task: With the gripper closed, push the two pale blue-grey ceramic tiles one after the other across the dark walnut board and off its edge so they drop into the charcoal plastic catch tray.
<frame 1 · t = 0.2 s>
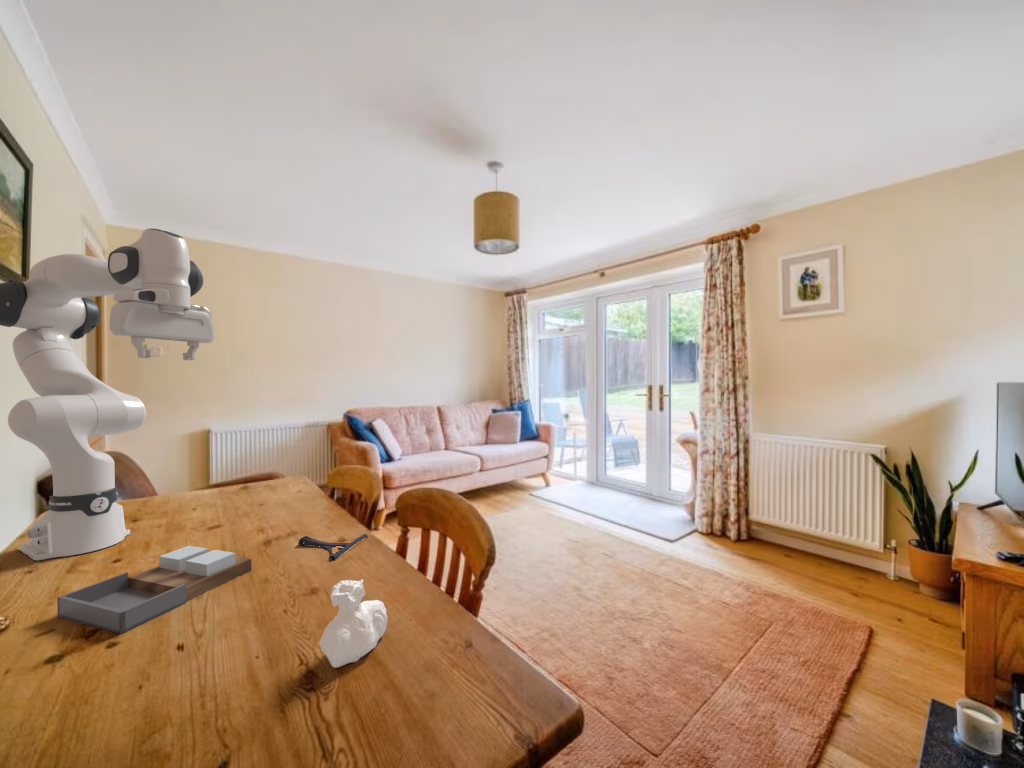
hand: (167, 359, 97), 47 cm above the table, fingers open, 8 cm apart
bracket: (326, 549, 105), on the table
bust: (352, 650, 64), on the table
catch tray: (123, 609, 76), on the table
tile b: (211, 568, 87), point 2 cm above the table, touching board
tile a: (184, 563, 90), point 2 cm above the table, touching board
board: (192, 579, 87), on the table
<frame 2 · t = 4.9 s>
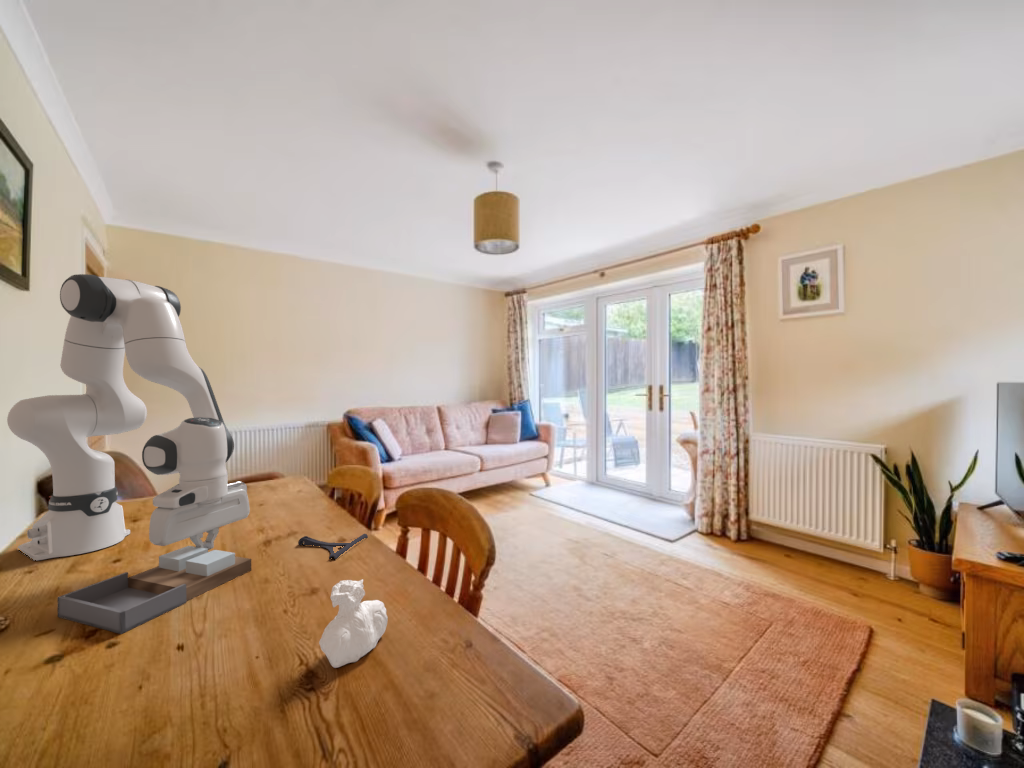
hand: (204, 550, 94), 4 cm above the table, fingers closed
tile a: (184, 563, 89), point 3 cm above the table, touching gripper
everything else where it was.
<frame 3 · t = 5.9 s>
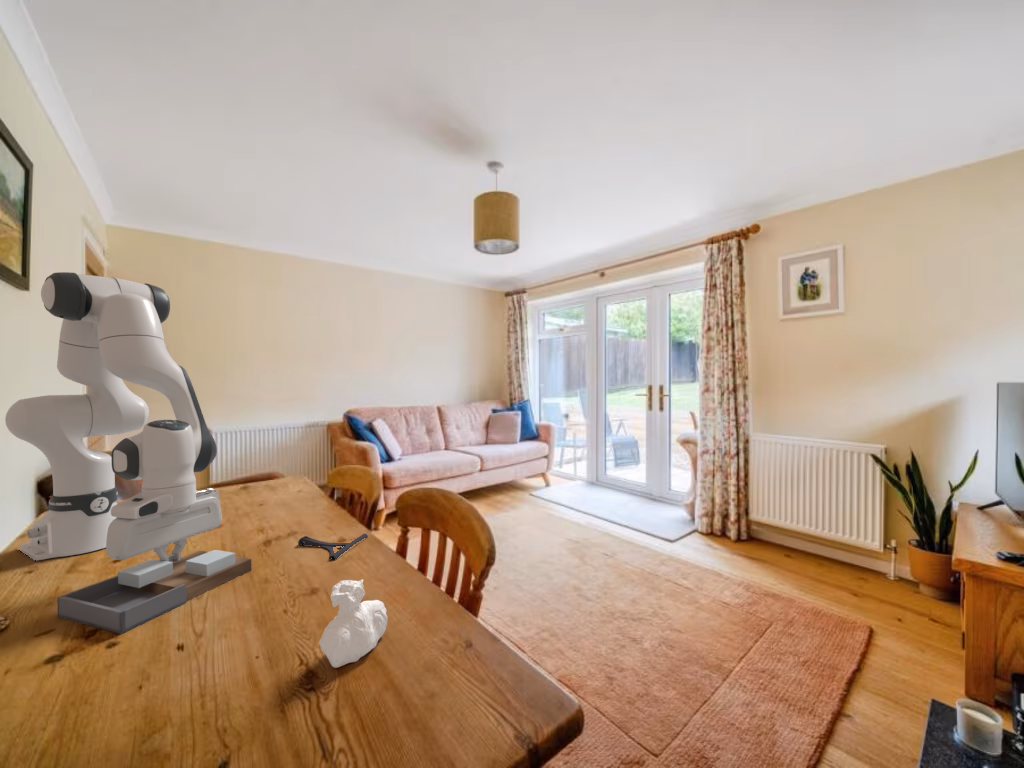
hand: (170, 563, 87), 4 cm above the table, fingers closed
tile a: (146, 578, 83), point 3 cm above the table, touching board, gripper
everything else where it was.
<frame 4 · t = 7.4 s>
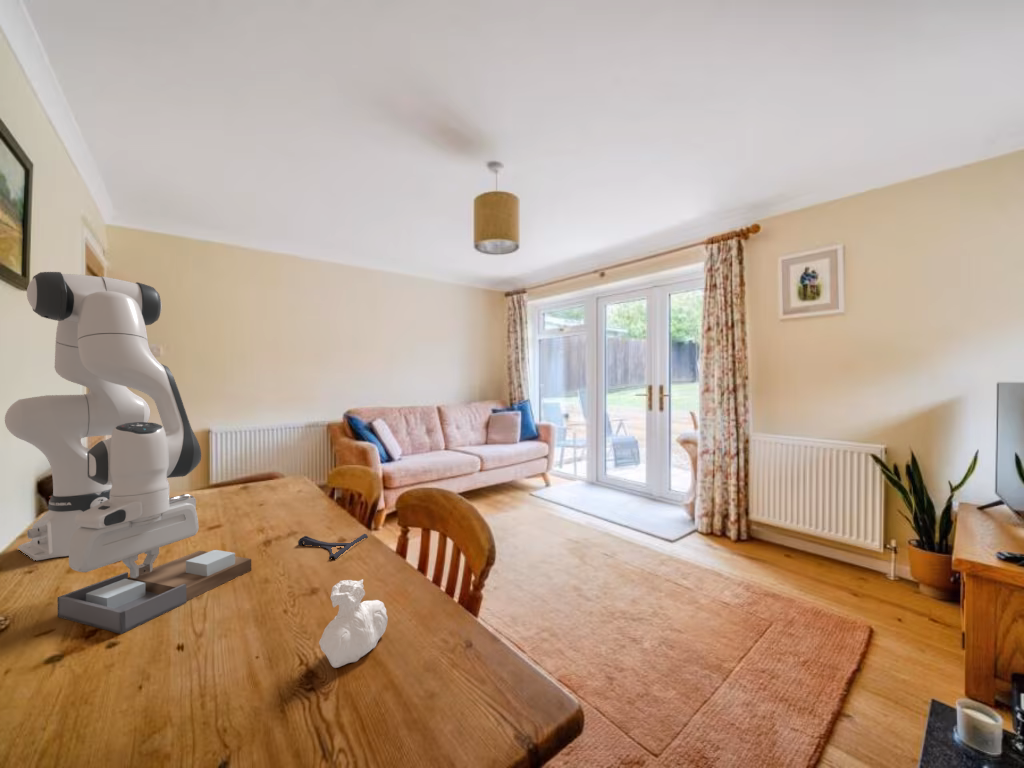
hand: (141, 574, 82), 4 cm above the table, fingers closed
tile a: (116, 600, 78), resting on catch tray
everything else where it was.
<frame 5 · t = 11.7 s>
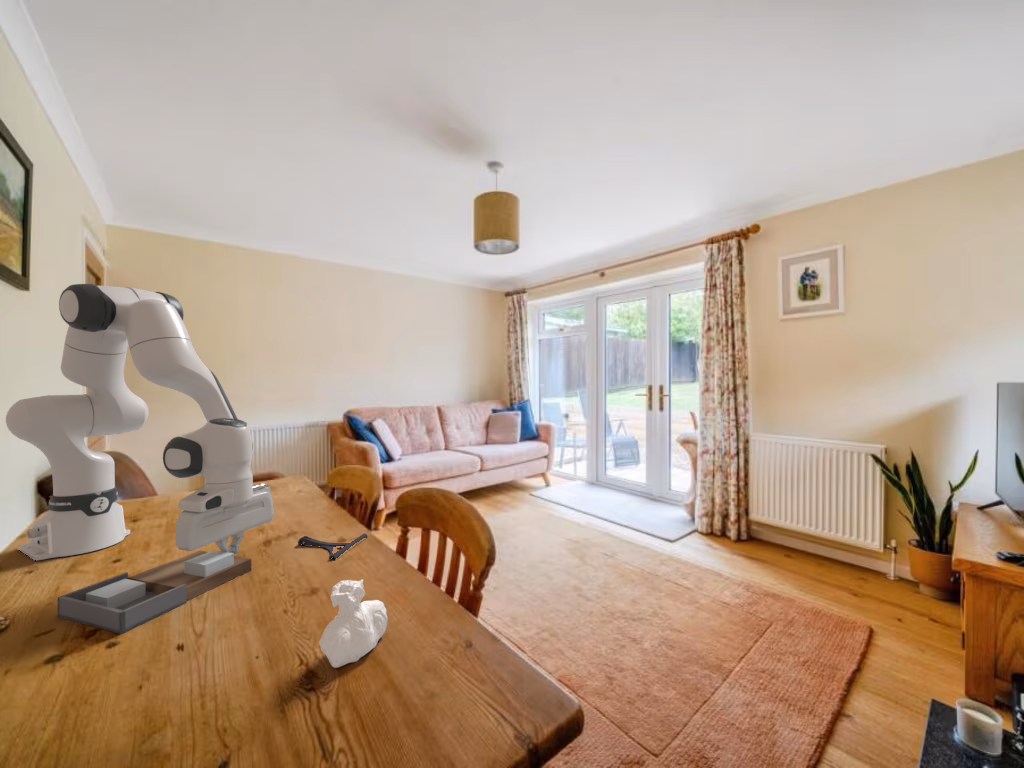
hand: (229, 555, 91), 4 cm above the table, fingers closed
tile b: (209, 568, 87), point 3 cm above the table, touching board, gripper
everything else where it was.
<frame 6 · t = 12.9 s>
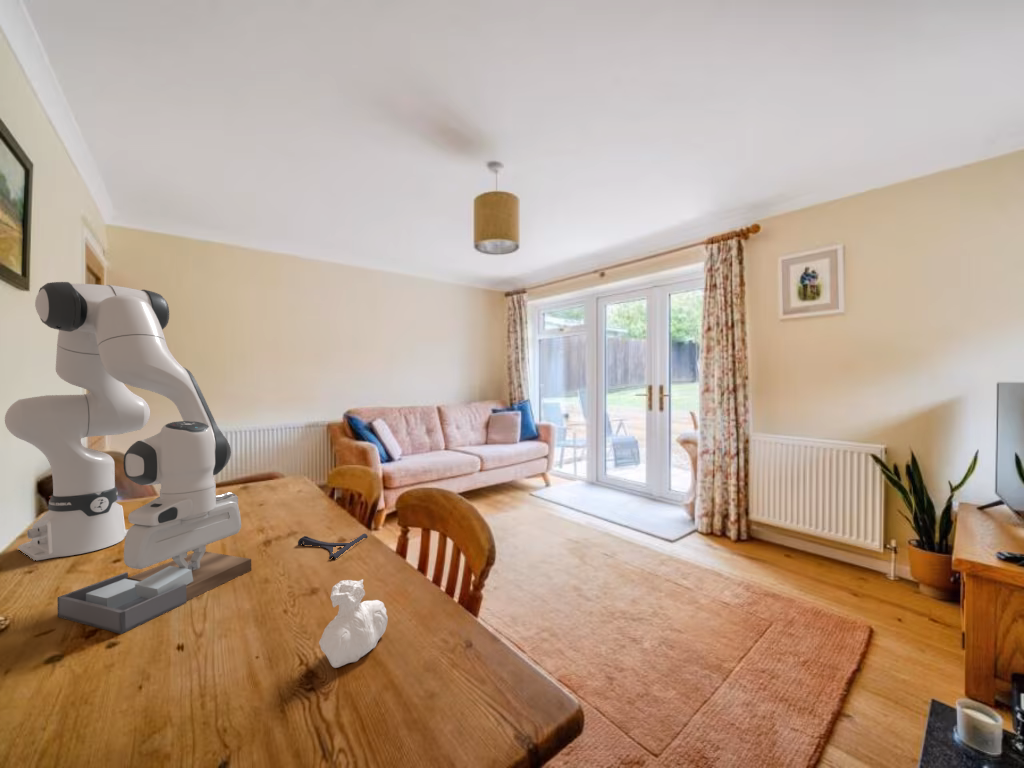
hand: (189, 571, 83), 4 cm above the table, fingers closed
tile b: (165, 588, 79), point 2 cm above the table, tilted 9°, touching board
everything else where it was.
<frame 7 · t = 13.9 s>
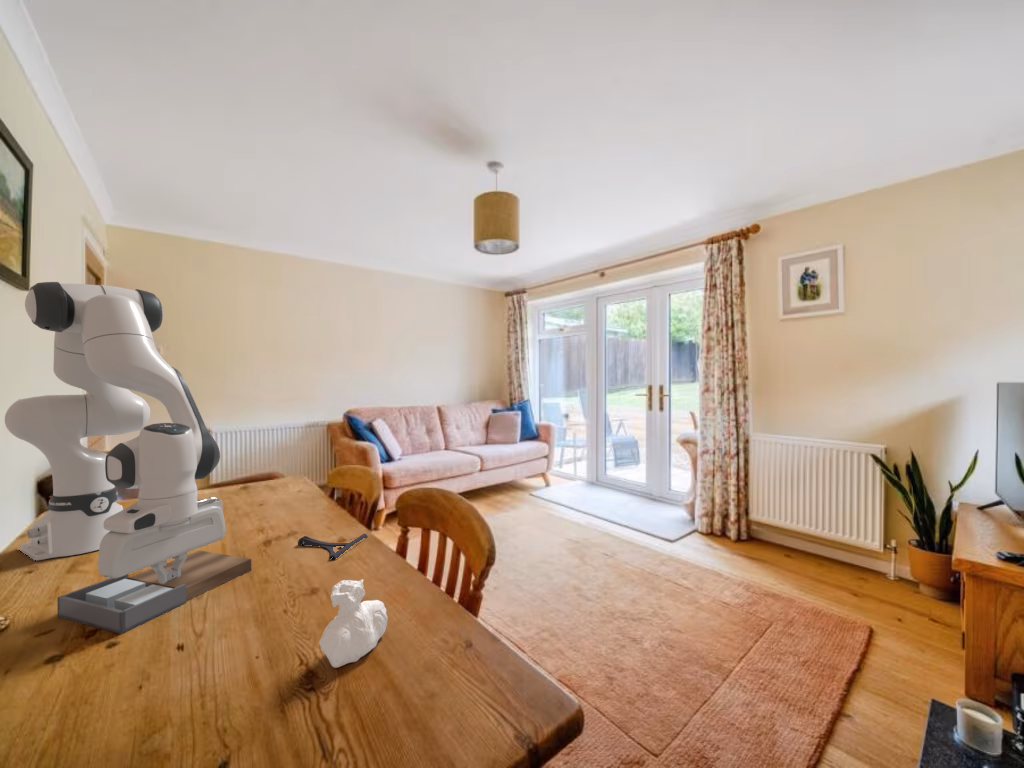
hand: (169, 580, 79), 4 cm above the table, fingers closed
tile b: (145, 607, 76), resting on catch tray
everything else where it was.
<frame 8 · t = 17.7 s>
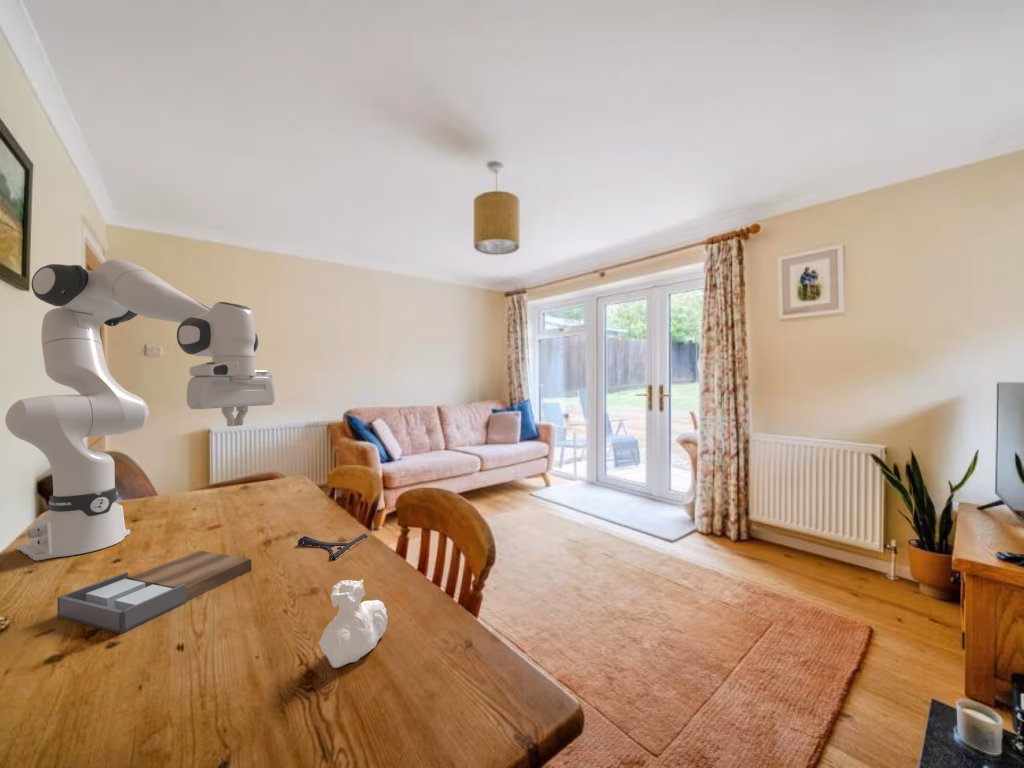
hand: (235, 425, 101), 31 cm above the table, fingers closed
nothing on the table moved.
at the end: tile a inside the target area (4.3 cm from its centre), point 0.5 cm above the table; tile b inside the target area (4.4 cm from its centre), point 0.5 cm above the table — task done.
